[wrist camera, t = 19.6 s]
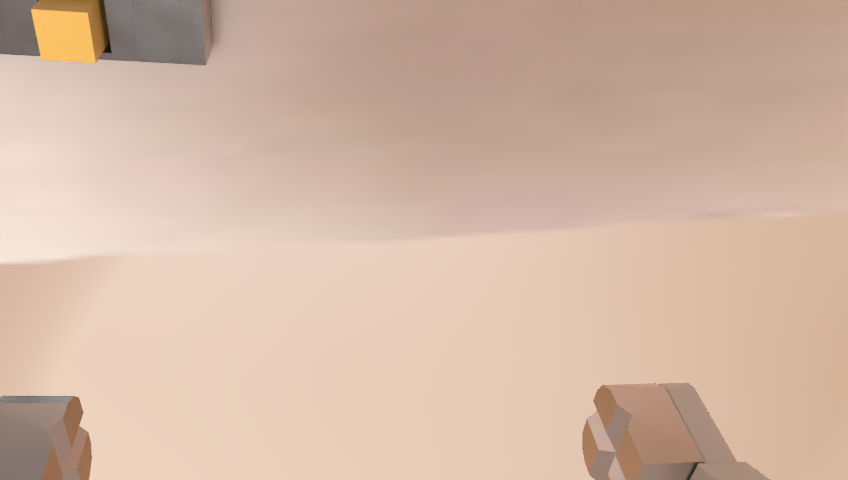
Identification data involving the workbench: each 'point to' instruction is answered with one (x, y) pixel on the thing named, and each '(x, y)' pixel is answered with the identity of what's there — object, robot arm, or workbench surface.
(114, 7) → the panel
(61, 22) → the plate
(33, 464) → the robot arm
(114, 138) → the workbench surface
